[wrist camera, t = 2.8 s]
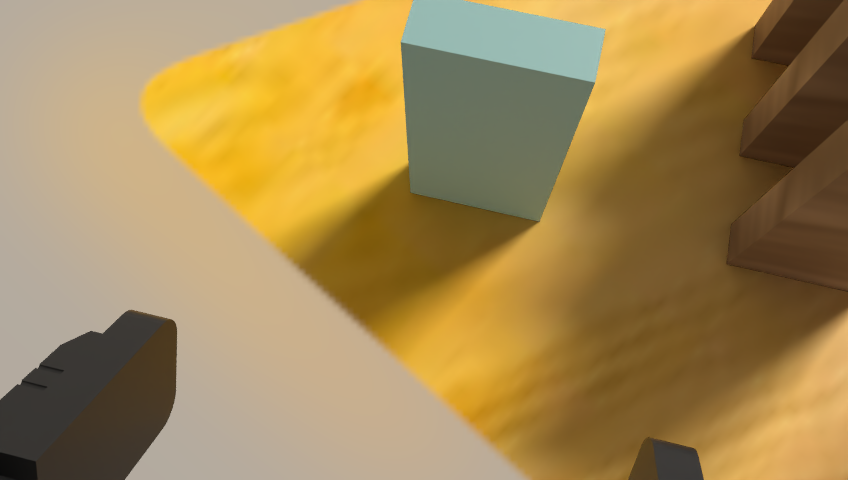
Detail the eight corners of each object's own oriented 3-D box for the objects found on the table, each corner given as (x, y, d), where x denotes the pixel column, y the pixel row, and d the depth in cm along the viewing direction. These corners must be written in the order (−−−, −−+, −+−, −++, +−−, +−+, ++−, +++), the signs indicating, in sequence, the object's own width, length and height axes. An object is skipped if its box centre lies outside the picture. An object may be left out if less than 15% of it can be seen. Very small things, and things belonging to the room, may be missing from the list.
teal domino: (539, 221, 28) (595, 82, 19) (410, 192, 29) (400, 41, 19) (547, 183, 29) (605, 29, 19) (420, 155, 29) (416, -10, 20)
